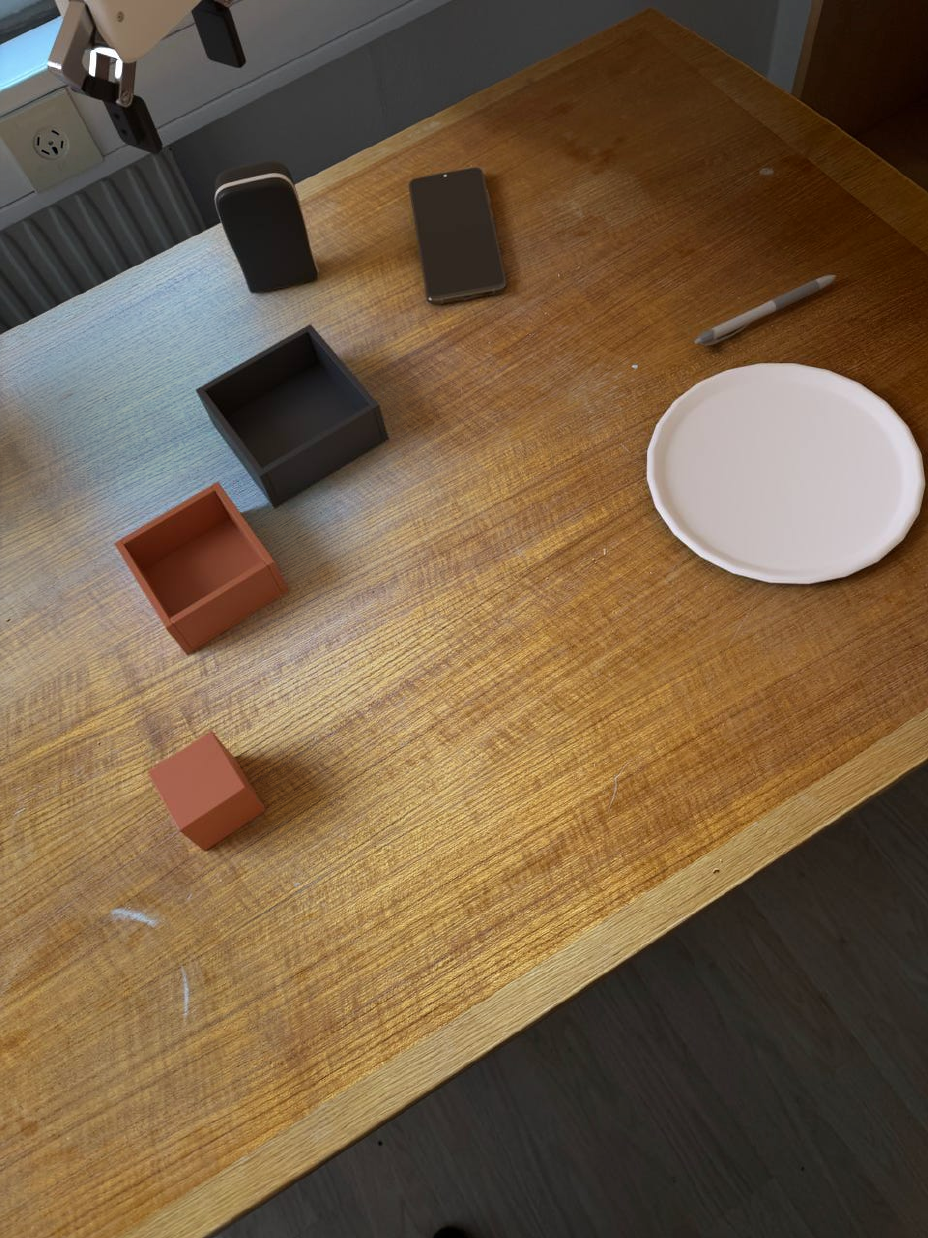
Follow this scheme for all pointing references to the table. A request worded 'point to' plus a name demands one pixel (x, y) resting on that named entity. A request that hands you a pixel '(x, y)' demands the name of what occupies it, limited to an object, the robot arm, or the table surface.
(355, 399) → the dark bin
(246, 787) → the clay block
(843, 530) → the plate
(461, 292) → the smartphone
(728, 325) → the pen
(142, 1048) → the table surface
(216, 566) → the clay bin
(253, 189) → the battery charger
